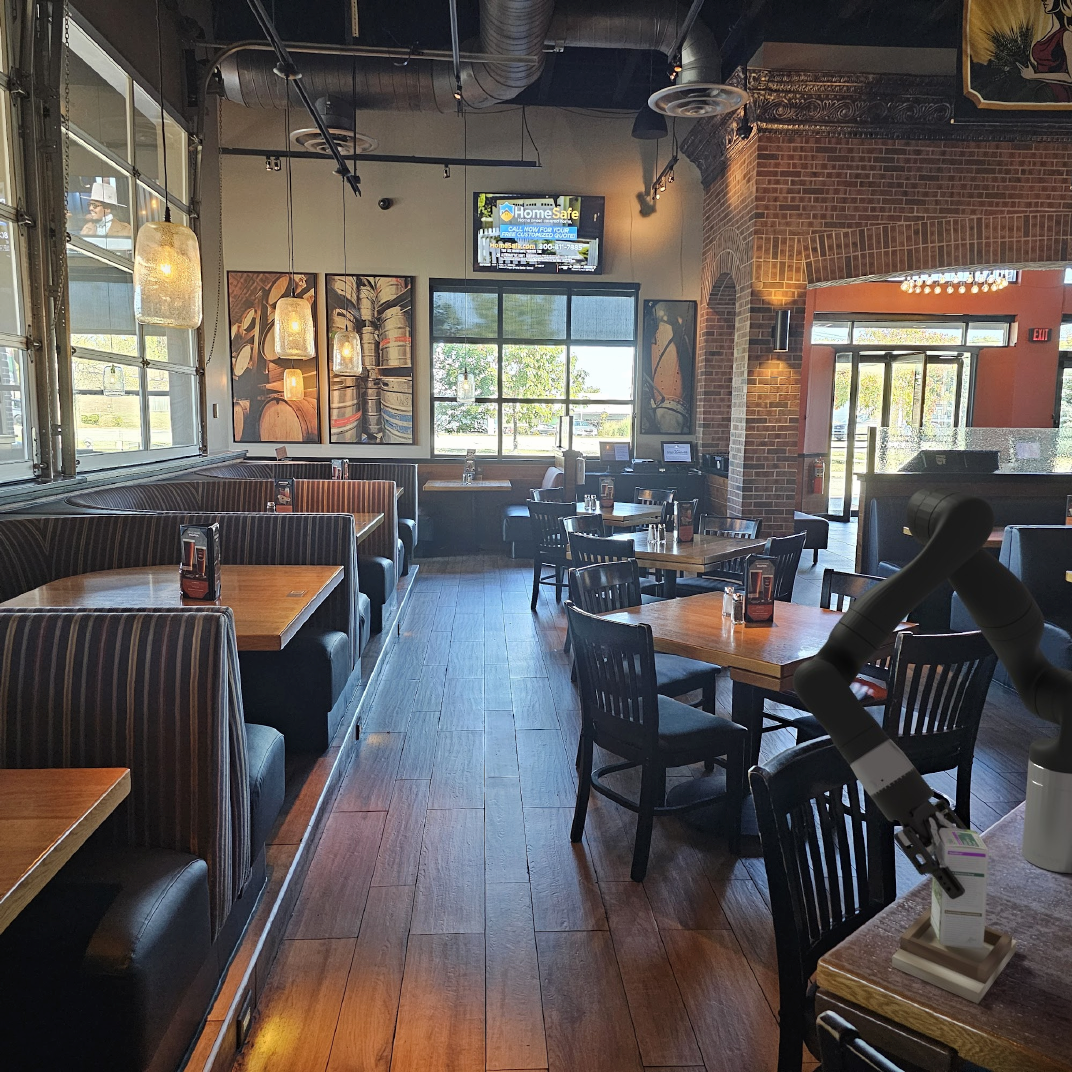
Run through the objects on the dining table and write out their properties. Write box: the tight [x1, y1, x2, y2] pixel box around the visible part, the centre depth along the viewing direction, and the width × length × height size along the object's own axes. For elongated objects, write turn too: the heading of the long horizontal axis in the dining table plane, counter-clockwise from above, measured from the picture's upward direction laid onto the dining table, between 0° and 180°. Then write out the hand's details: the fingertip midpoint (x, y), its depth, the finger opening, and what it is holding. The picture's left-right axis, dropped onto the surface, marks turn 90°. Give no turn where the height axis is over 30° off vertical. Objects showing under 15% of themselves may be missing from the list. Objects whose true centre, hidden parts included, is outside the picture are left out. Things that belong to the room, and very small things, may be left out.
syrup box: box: [930, 827, 990, 950], centre depth 118 cm, size 6×6×14 cm
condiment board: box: [891, 905, 1018, 1005], centre depth 119 cm, size 16×11×3 cm
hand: (970, 884), depth 117 cm, fingers closed on syrup box, 8 cm apart
